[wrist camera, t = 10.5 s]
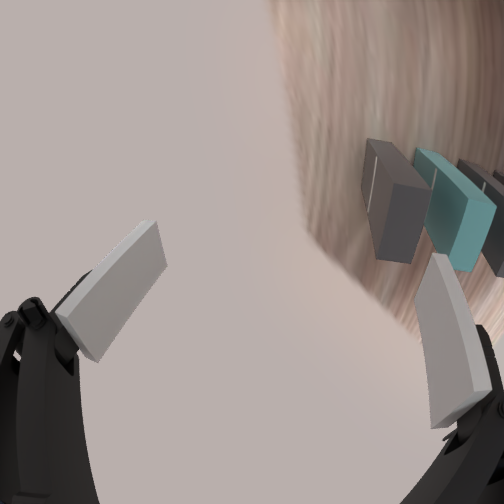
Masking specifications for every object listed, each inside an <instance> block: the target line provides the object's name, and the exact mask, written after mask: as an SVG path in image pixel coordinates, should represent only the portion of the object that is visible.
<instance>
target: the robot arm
mask: <svg viewBox="0 0 504 504" xmlns="http://www.w3.org/2000/svg"><path fill="white" fill-rule="evenodd" d="M166 267H167V263H166V259H165V255H164V251H163V247H162V243H161V239H160V235H159V230H158V226H157V222H156V221H151V220H144V221H142V222H141V223H140V224H139V225H138V226H137V227H136V228H135V229H134V230H133V231H132V232H131V233H130V234H128V235H127V237H125V238H124V239H123V240H122V241H121V242H120V243H119V244H118V245H117V246H116V247H115V248H114V249H113V250H112V251H111V252H110V253H109V254H108V255H107V256H106V257H105V258H104V259H103V260H102V261H101V262H100V263H99V264H98V265H97V266H96V267H95V268H94V269H93V270H91V271H90V272H88V273H86V274H85V275H83V276H82V277H81V278H80V279H79V281H78V282H77V283H76V285H74V286H73V287H72V288H71V289H70V291H68V292H67V294H66V295H65V296H64V297H63V298H62V299H61V300H60V301H59V303H58V304H57V305H56V306H55V307H54V308H53V309H52V311H51V312H50V313H48V312H47V310H46V308H45V306H44V305H43V303H42V301H41V300H40V298H38V297H31V298H29V299H27V300H25V301H24V302H23V303H22V304H21V305H20V306H19V308H18V310H17V311H11V312H8V313H7V314H5V316H4V317H3V318H2V319H1V321H0V504H100V503H99V501H98V497H97V493H96V489H95V485H94V481H93V477H92V472H91V468H90V463H89V457H88V452H87V446H86V440H85V433H84V425H83V417H82V407H81V394H80V376H79V357H78V355H77V351H78V350H79V349H80V350H81V351H82V353H83V354H84V356H85V357H86V358H88V359H90V360H92V361H95V362H97V363H98V362H99V361H100V359H101V358H102V356H103V355H104V353H105V352H106V350H107V348H108V347H109V346H110V344H111V343H112V342H113V340H114V339H115V337H116V336H117V334H118V333H119V331H120V330H121V329H122V327H123V326H124V324H125V323H126V321H127V320H128V319H129V317H130V316H131V314H132V313H133V312H134V310H135V309H136V307H137V306H138V305H139V303H140V302H141V300H142V299H143V298H144V296H145V295H146V294H147V292H148V291H149V290H150V288H151V287H152V286H153V284H154V283H155V282H156V280H157V279H158V278H159V276H160V275H161V274H162V272H163V271H164V270H165V268H166ZM414 302H415V307H416V311H417V316H418V321H419V326H420V332H421V337H422V343H423V350H424V356H425V362H426V371H427V379H428V389H429V402H430V418H431V429H436V428H446V427H449V426H450V425H452V424H453V423H454V422H456V421H457V428H456V429H455V430H454V431H452V432H451V433H450V434H448V435H447V436H445V437H444V438H443V441H445V440H447V439H448V438H449V440H448V441H447V443H446V444H445V446H444V447H443V449H442V450H441V452H440V453H439V455H438V456H437V458H436V459H435V460H434V462H433V463H432V465H431V466H430V468H429V469H428V470H427V471H426V473H425V474H424V475H423V477H422V478H421V479H420V480H419V482H418V483H417V484H416V485H415V487H414V488H413V489H412V490H411V491H410V493H409V494H408V495H407V496H406V497H405V498H404V499H403V501H402V502H401V503H400V504H504V390H503V385H502V381H501V377H500V372H499V368H498V365H497V361H496V358H495V354H494V350H493V349H492V344H491V341H490V338H489V335H488V333H487V332H486V330H485V329H484V328H483V326H482V325H475V323H474V320H473V317H472V314H471V311H470V309H469V306H468V303H467V301H466V298H465V296H464V293H463V291H462V288H461V286H460V283H459V281H458V279H457V276H456V274H455V272H454V269H453V267H452V265H451V263H450V261H449V259H448V256H447V255H446V254H439V253H432V255H431V258H430V261H429V263H428V266H427V269H426V271H425V274H424V276H423V279H422V281H421V284H420V286H419V288H418V291H417V293H416V295H415V298H414ZM15 350H16V352H17V353H18V354H19V355H20V356H21V360H20V361H18V360H17V359H16V358H15V357H14V356H13V354H14V351H15Z"/></svg>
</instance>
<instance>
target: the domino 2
mask: <svg viewBox="0 0 504 504" xmlns="http://www.w3.org/2000/svg"><path fill="white" fill-rule="evenodd" d="M413 167H414V168H415V170H416V171H417V172H418V173H419V174H420V176H421V177H422V178H423V179H424V181H425V182H426V183H427V184H428V186H429V187H430V188H431V189H432V195H431V199H430V203H429V207H428V210H427V214H426V218H425V221H424V226H425V228H426V230H427V232H428V234H429V236H430V238H431V240H432V242H433V244H434V246H435V249H436V251H437V253H439V254H446V255H447V256H448V259H449V261H450V263H451V265H452V267H453V269H454V270H459V271H466V272H472V269H473V267H474V265H475V263H476V261H477V258H478V256H479V254H480V251H481V249H482V246H483V244H484V241H485V239H486V236H487V234H488V231H489V228H490V226H491V223H492V220H493V217H494V214H495V211H496V208H497V206H496V205H495V204H494V203H493V202H492V201H491V200H490V199H489V198H488V197H487V196H486V195H485V194H484V193H483V192H482V191H481V190H480V189H479V188H478V187H477V186H476V185H475V184H474V183H473V182H472V181H471V180H469V179H468V178H467V177H466V176H465V175H464V174H463V173H462V172H460V171H459V170H458V169H457V168H456V167H455V166H453V165H452V164H451V163H450V162H449V161H448V160H446V159H445V158H444V157H443V156H441V155H440V154H439V153H437V152H433V151H429V150H425V149H421V148H416V153H415V159H414V165H413Z"/></svg>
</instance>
